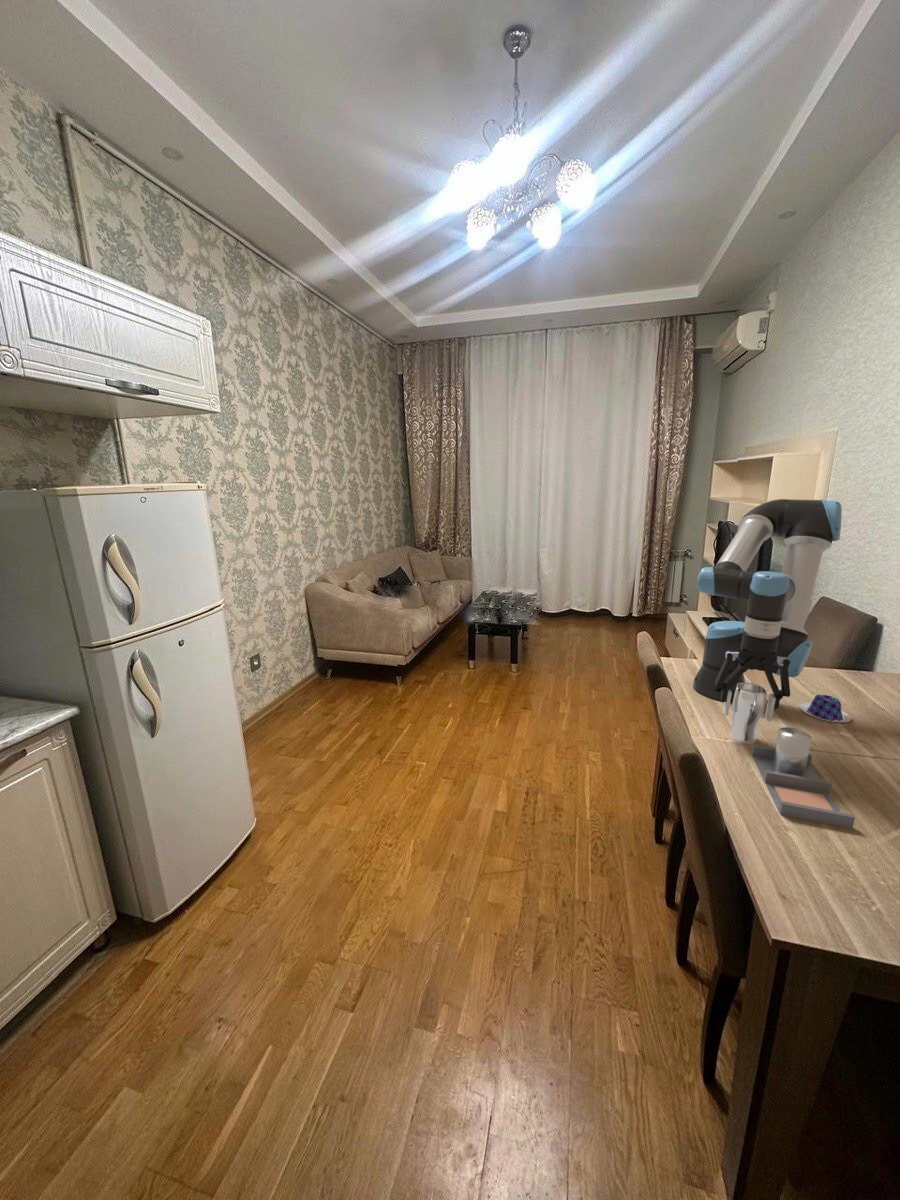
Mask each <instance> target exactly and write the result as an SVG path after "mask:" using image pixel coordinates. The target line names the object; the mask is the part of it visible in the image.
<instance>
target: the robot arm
mask: <svg viewBox="0 0 900 1200" xmlns="http://www.w3.org/2000/svg"><path fill="white" fill-rule="evenodd" d="M842 511H843V510H842V504H841V503H840V502H839V501H837V500H825V499H789V498H788V499H787V498H780V499H779V498H778V499H773V500H770V501H769V500H768V501H766V502H764V503H761V504H760V505H757V506H756V507H754V508H752V509H751V510H749V511H748V512H747V513H746V514H744V516H742V518H741V520H739V523H738V525H737V532H736V534H735V535H734V537H733V538H732V539H731V541H730V543H729V544H728V546H727V547H726V549H725V551H724V552H723V554H722V555H721V556H720V558H719V560H718V561H717V563H716V564H715V566H714V567H713V566H710V567H709V566H708V567H707V566H705V567H702V568H701V570H700V571H699V573H698V575H697V582H696V585H697V589H698V591H699V592H700V593H702V594H706V595H710V596H718V597H725V598H733V599H739V600H743V601H744V600H745V601H748V602H747V610H746V614H745V619H744V621H739V620H738V621H737V620H736V621H735V620H721V621H715V622H712V623H710V624H709V626H708V627H707V631H706V635H705V641H704V642H705V643H704V650H703V657H702V664H701V667H700V668H699V670H698V671H697V674H696V676H695V677H694V680H693V683H692V688H693V689H694V690H695V691H696V692H697V693H698V694H700V695H703V696H705V697H707V698H710V699H714V700H718V701H721V702H722V703H723V707H722V712H723V714H724V715H725V716H729V713H730V706H731V702H733V698H734V694H735V690H736V686H737V684H738V683H746V678H745V674H744V673H746V672H747V671H748V670H749V671H753V670H756V671H759V672H763V673H764V674H765V676H766V679H767V681H768V684H769V686H770V688H771V691H772V693H769V694H768V697H767V702H766V703H767V704H766V707H765V709H766V710H765V716H764V718H765V719H766V720H767V722H772V720H773V716H774V711H775V710H778V709H779V707H780V701H781V700H782V699H783V698H784V697H786V698H790V697H791V687H790V685H791V684H790V678H797V677H798V676H799V675H800V674H801V673H802V671H803V670H804V668H805V665H806V664H807V662H808V660H809V657H810V655H811V652H812V648H813V641H812V640H810V639H808V638H809V633H808V632H807V631H806V630H805V623H806V619H807V615H808V612H809V609H810V608H809V607H810V603H811V599H812V595H813V592H814V589H815V588H814V587H815V583H816V580H817V578H818V572H819V569H820V564H821V560H822V558H823V557H822V556H823V553H824V551H826V550H827V549H829V548H831V547H832V545H833V543H832V542H836V541H837V542H838V541H839V540H840V538H841V529H842V528H841V527H842V514H843V513H842ZM771 537H777V538H778V537H779V538H783V543H784V544H785V545H786V546H787V550H786V554H785V559H784V563H783V565H782V568H781V569H782V570H781V572H776V571H769V570H768V571H766V570H765V571H764V570H763V571H757V572H756V571H755V572H754V571H753V572H752V571H747V570H748V568H749V566H750V565H751V563H752V561H753V560H754V558H755V556H756V555H757V553H758V552H759V550H760V548H761V546H762V545H763V543H764V542H765V541H766V540H769V539H770V538H771ZM773 674H774V675H776V676H780V677H779V679H780V687H781V689H779V687H778V686H779V685H778V684H777V681H776V679H775V678H774V677H775V676H774V675H773Z"/></svg>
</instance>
